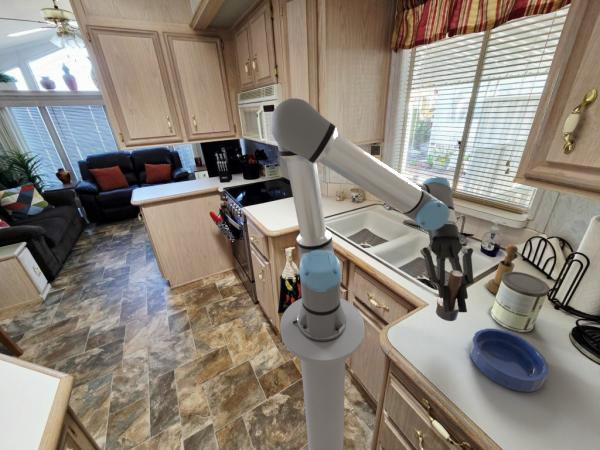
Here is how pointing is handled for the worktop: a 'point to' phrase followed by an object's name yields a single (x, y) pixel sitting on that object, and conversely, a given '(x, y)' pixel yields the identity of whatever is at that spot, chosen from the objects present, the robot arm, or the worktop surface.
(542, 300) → the coffee can
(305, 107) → the robot arm
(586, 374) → the worktop surface
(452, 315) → the brush
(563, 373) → the worktop surface
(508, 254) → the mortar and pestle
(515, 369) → the bowl
